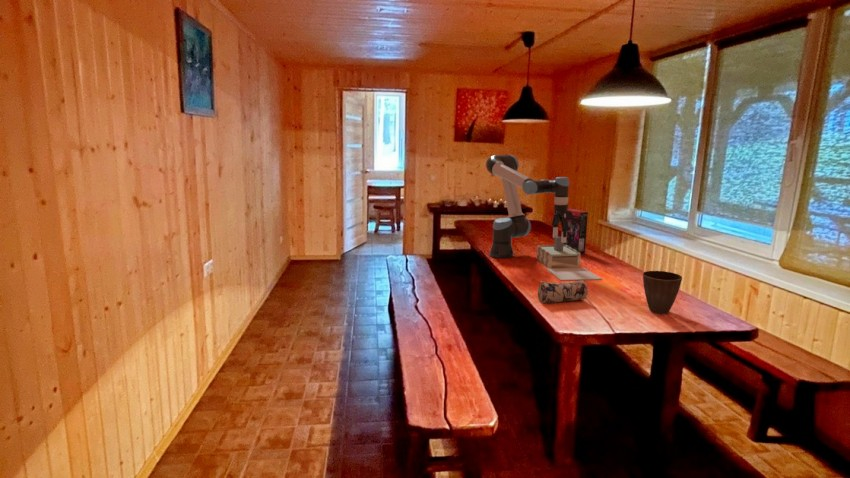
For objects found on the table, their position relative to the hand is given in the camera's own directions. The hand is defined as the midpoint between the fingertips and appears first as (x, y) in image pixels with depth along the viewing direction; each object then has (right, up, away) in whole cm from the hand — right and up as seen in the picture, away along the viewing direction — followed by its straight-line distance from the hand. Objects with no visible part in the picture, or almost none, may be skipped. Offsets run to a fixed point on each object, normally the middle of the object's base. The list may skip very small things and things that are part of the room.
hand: (559, 240), depth 280 cm
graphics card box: (+19, -8, +36) cm, 41 cm away
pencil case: (-16, -28, -62) cm, 70 cm away
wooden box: (0, -14, +3) cm, 14 cm away
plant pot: (+21, -30, -75) cm, 84 cm away
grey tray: (+2, -19, -19) cm, 27 cm away
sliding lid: (0, -7, +2) cm, 7 cm away
